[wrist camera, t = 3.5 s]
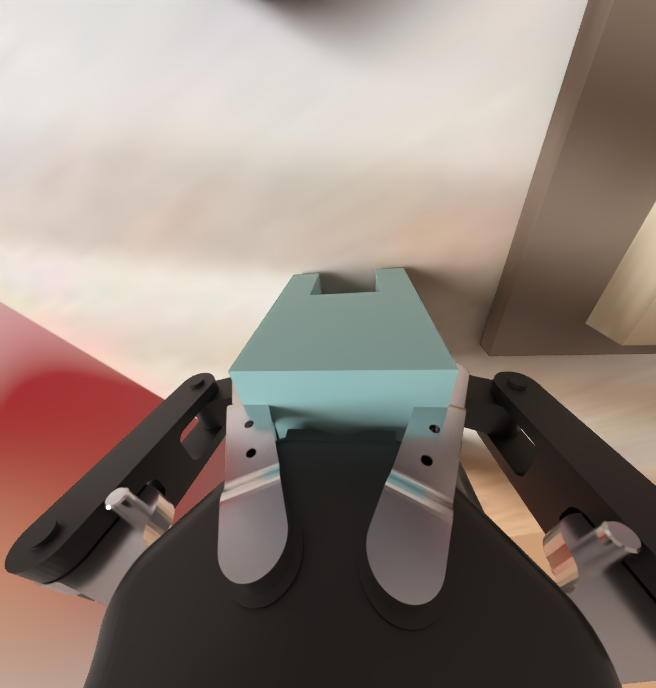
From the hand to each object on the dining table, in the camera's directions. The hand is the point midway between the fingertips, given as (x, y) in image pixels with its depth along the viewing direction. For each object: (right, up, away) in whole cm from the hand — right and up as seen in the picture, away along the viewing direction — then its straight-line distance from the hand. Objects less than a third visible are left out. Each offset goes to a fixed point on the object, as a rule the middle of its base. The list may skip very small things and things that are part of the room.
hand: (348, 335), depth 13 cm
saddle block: (0, +1, +1) cm, 2 cm away
